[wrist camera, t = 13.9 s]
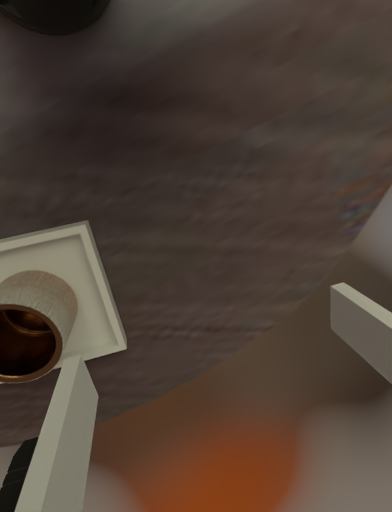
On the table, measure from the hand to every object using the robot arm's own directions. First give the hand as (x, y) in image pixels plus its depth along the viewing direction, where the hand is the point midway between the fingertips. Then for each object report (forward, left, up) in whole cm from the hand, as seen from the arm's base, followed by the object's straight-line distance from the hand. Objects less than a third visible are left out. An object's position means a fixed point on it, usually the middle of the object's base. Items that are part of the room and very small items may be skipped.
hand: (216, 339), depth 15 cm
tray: (+8, -20, -29) cm, 36 cm away
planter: (+8, -20, -28) cm, 36 cm away
